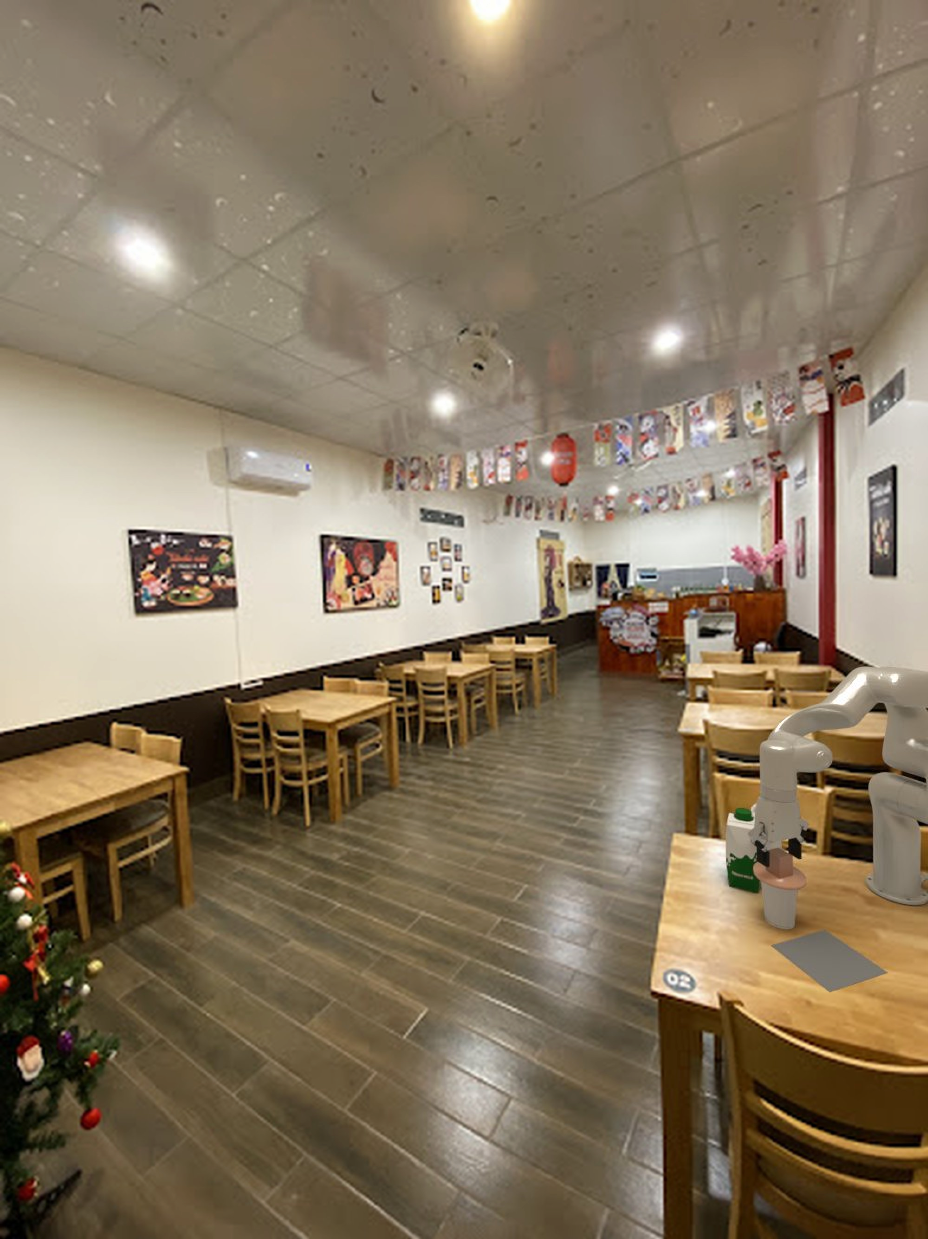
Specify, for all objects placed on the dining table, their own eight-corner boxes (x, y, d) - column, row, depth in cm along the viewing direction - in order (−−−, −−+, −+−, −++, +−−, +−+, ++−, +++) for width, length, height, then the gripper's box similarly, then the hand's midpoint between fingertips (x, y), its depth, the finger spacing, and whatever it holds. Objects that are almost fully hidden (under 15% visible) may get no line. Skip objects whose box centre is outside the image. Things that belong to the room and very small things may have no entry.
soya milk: (762, 879, 141) (761, 810, 140) (761, 896, 134) (761, 824, 132) (727, 871, 146) (726, 804, 145) (725, 887, 138) (723, 817, 137)
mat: (824, 932, 119) (824, 929, 119) (888, 976, 106) (888, 972, 106) (770, 948, 115) (770, 945, 115) (829, 995, 102) (829, 992, 102)
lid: (777, 860, 129) (776, 838, 129) (817, 884, 119) (817, 860, 118) (742, 869, 126) (742, 846, 126) (781, 894, 116) (781, 869, 115)
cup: (805, 936, 118) (804, 887, 118) (768, 933, 120) (767, 885, 119) (790, 914, 126) (789, 868, 126) (755, 911, 128) (755, 866, 127)
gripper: (792, 781, 127) (793, 846, 128) (736, 792, 122) (738, 859, 124) (820, 792, 120) (821, 861, 121) (762, 804, 115) (763, 875, 116)
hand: (779, 860), depth 122 cm, fingers open, 9 cm apart
